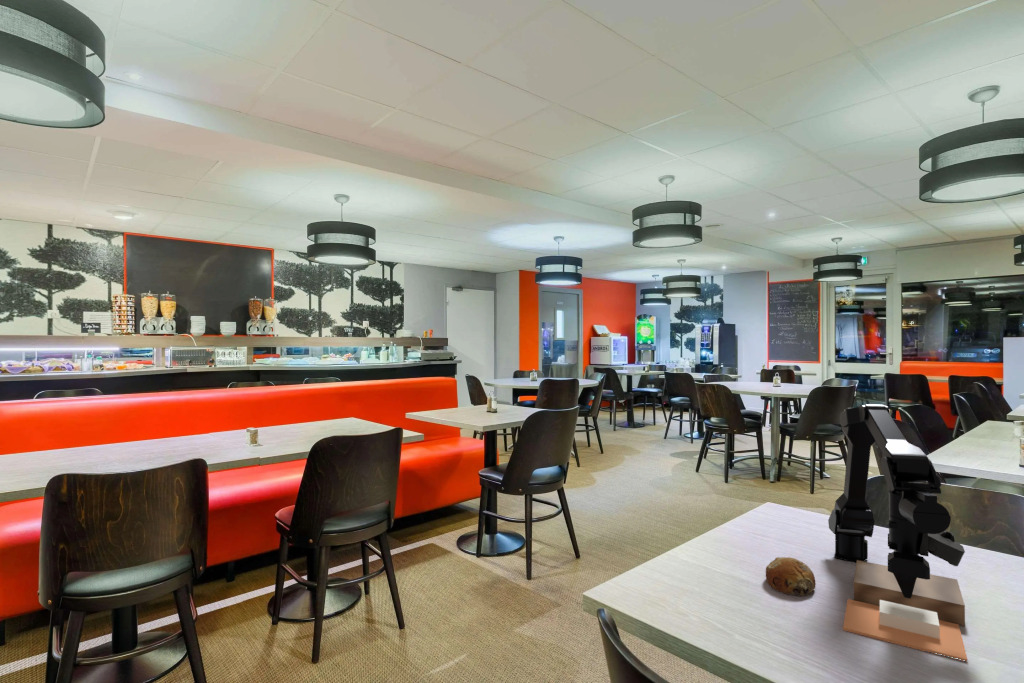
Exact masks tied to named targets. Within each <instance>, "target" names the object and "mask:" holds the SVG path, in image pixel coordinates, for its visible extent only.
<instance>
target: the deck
mask: <svg viewBox="0 0 1024 683" xmlns="http://www.w3.org/2000/svg"><path fill="white" fill-rule="evenodd" d="M855 563H856V564H855V570H854V577H853V600H855V601H859V602H864V603H868V604H872V605H877V606H880V600H884V601H888V602H892V603H897V604H901V605H906V606H910V607H915V608H919V609H924V610H928V611H933V612H937V615H938V620H941V621H946V622H950V623H954V624H959V626H961V627H966V606H965V602H964V598H963V594H962V591H961V588H960V585H959V581H958V579H957V578H953V577H952V578H951V577H946V576H940V575H936V574H931V573H930V579H927V580H926V579H921V578H917V579H916V582H915V586H914V590H913V593H912V597H911V598H905V597H904V596H903V593H902V591H901V589H900V587H899V585H898V583H897V580H896V578H895V576H894V574H893V573H891V572H889V571H888V565H884V564H878V563H873V562H868V561H865V562H864V561H859V560H857V562H855Z"/></svg>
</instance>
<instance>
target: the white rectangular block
mask: <svg viewBox="0 0 1024 683" xmlns="http://www.w3.org/2000/svg"><path fill="white" fill-rule="evenodd" d="M880 625H884V626H888V627H892V628H896V629H900V630H904V631H908V632H912V633H917V634H921V635H925V636H929V637H933V638H937V639H940V625H939V620H938V615H937V612H933V611H928V610H924V609H919V608H915V607H910V606H906V605H901V604H897V603H892V602H888V601H884V600H880Z"/></svg>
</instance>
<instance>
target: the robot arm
mask: <svg viewBox="0 0 1024 683" xmlns="http://www.w3.org/2000/svg"><path fill="white" fill-rule="evenodd" d="M839 423H840V426H841V430H842V432H843V433H844V435H845V437H846V438H847V449H846V450H847V451H846V462H845V464H846V465H845V474H844V487H843V493H842V494H840V496H839V497H838V498H837V499H836V500H835V502H834V508H833V509H832V511H831V512H830V516H829V517H828V520H827V521H828V522H827V523H828V528H829V530H830V532H832V533H833V534H834V539H835V540H834V541H835V544H834V546H835V547H834V548H835V550H834V551H835V552H834V555H833V556H834V558H835V559H838V560H844V561H848V562H854V563H856V562H857V560H859V561H864V562H866V561H867V560H868V557H869V555H868V553H869V552H868V551H869V549H868V548H869V546H868V545H869V542H868V540H867V539H866V537H869V538H872V537H873V533H874V529H875V522H876V518H874V513H873V511H872V508H870V506H869V504H868V503H867V499H866V498H867V490H868V479H869V470H870V460H871V449H872V448H871V447H872V446H873V445H874V444H875V443H876V444H877V445H878V447H879V449H880V452H881V453H882V454H881V456H882V457H881V459H880V470H881V473H882V475H883V477H884V479H885V482H886V486H887V488H888V533H887V547H889V548H888V549H889V550H893V551H891V552H888V554H887V566H888V571H889V572H891V573H893V574H894V576H895V578H896V580H897V583H898V585H899V587H900V589H901V591H902V593H903V596H904V597H905V598H911V597H912V593H913V590H914V586H915V582H916V579H917V578H921V579H926V580H927V579H930V574H931V568H930V562H929V561H928V560H926V558H924V557H929V554H931V555H932V556H934V557H936V558H939V559H941V560H943V561H945V562H947V563H948V564H949V565H952V566H954V567H958V566H959V564H960V563H961V560H962V559H963V556H964V554H965V553H966V551H965V548H964V546H963V545H962V544H961V543H960V542H956V541H955V535H954V533H953V532H951V531H948V530H947V529H948V528H949V527H950V524H951V519H952V517H951V515H950V513H949V511H948V509H947V508H946V507H945V506H944V505H943V504H941V503H940V502H938V496H937V495H938V494H939V495H941V494H942V489H941V486H942V483H941V480H940V477H939V476H938V473H937V471H936V469H935V467H934V465H933V462H932V461H931V459H929V457H928V455H926V453H925V452H923V450H922V449H921V448H920V447H918V446H916V445H915V444H911V443H910V442H908V441H907V439H906V437H905V436H904V435H903V433H902V432H901V430H900V429H899V427H898V425H897V423H895V421H894V419H893V418H892V416H891V412H890V408H889V406H887V405H884V404H869V403H868V404H866V403H865V404H861V405H858V406H857V407H846V408H845V409H843V410H842V411H841V412H840V414H839ZM926 482H927V483H926ZM936 494H937V495H936Z"/></svg>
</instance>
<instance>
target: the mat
mask: <svg viewBox="0 0 1024 683" xmlns="http://www.w3.org/2000/svg"><path fill="white" fill-rule="evenodd" d="M845 607H846V608H845V615H844V620H843V627H842V630H843V631H844V632H845V631H846V632H848V633H849V632H850V633H853V634H856V635H862V636H864V637H869V638H872V639H876V640H879V641H884V642H888V643H892V644H895V645H899V646H903V647H906V646H907V648H910V647H911V648H910V649H914V650H918V649H919V650H918V651H922V652H925V651H928V652H927V653H929V652H932V653H931V654H933V653H937V654H942V655H945V656H949V657H953V658H958V659H961V660H965V661H968V662H969V660H968V656H967V653H966V649H965V644H964V640H963V636H962V632H961V628H960V625H959V624H954V623H950V622H946V621H941V620H939V625H940V639H937V638H933V637H929V636H925V635H921V634H917V633H912V632H908V631H904V630H900V629H896V628H892V627H888V626H884V625H880V606H877V605H872V604H868V603H864V602H859V601H855V600H854V599H850V598H847V601H846V606H845ZM937 654H936V655H937ZM945 656H944V657H945Z"/></svg>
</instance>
